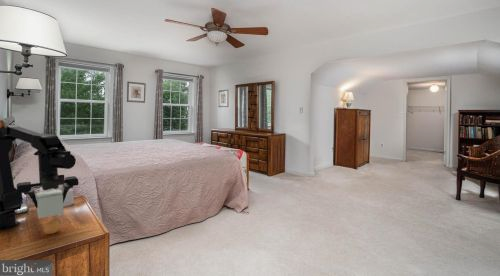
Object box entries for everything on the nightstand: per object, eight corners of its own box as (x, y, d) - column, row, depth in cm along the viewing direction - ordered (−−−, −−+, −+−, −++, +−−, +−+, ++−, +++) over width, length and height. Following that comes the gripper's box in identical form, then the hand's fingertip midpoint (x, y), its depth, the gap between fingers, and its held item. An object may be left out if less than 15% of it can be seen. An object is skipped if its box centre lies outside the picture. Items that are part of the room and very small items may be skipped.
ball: (41, 228, 97) (41, 235, 99) (56, 229, 98) (56, 237, 101) (47, 217, 101) (47, 225, 103) (62, 219, 103) (61, 226, 105)
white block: (37, 211, 100) (36, 193, 100) (61, 207, 106) (60, 189, 105) (38, 218, 95) (37, 198, 94) (63, 213, 100) (62, 194, 99)
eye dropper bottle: (60, 205, 130) (59, 182, 129) (73, 202, 134) (72, 181, 133) (61, 207, 127) (60, 184, 126) (74, 205, 131) (73, 182, 130)
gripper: (15, 174, 86) (18, 217, 87) (80, 167, 98) (81, 205, 100) (15, 168, 94) (18, 208, 95) (75, 162, 107) (76, 198, 108)
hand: (50, 205), depth 100 cm, fingers closed on white block, 8 cm apart
